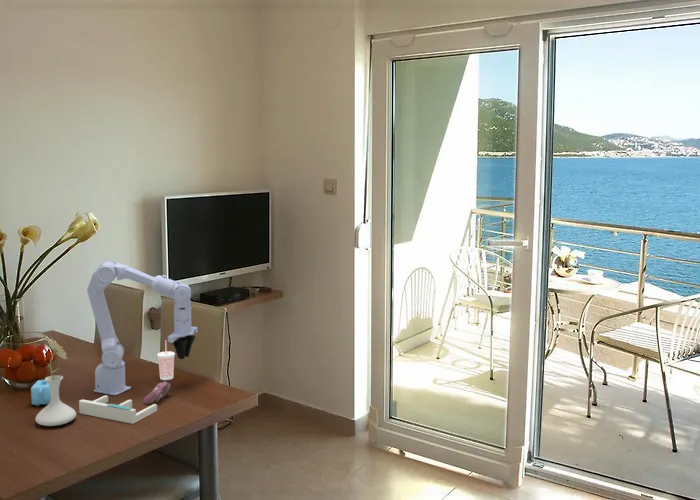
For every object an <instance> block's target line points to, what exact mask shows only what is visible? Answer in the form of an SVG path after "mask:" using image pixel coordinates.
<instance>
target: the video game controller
mask: <svg viewBox="0 0 700 500" xmlns="http://www.w3.org/2000/svg"><path fill="white" fill-rule="evenodd" d="M171 385H172V383H171V384H170V383H169V382H166V380H163V381H162V382H159V383H157V385H156V386H155V387H154V388H153V389H152V391H150V393H149V394H148V395H146V396H145V397H144V398H143V404H145V405H149V404H151V403H154V402H156V403H158V402H159V401H160V399H164V397H165V395H166V394H167V392H168V391H169V390H170V388H171Z"/></svg>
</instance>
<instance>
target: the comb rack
mask: <svg viewBox="0 0 700 500" xmlns="http://www.w3.org/2000/svg"><path fill="white" fill-rule="evenodd" d="M78 406H79V408H78V410H79V412H78V413H79V414H80V415H87V416H91V417H96V418H101V419H106V420H107V419H108V420H110V421H111V420H112V421H117V422H121V423H125V424H126V423H127V424H132V425H133V424H135V423H137V422H139V421H141V420H142V419H144V418H146V417H148V416H150V415H152V414H154V413H156V412H157V411H158V404H156V403H153V404H151V405H150V406H148V407H146V408H144V409H142V410H140V411H137V409H136V408H133V399H127V400H125V401H123V402H121V403H119V404H116V403H115V404H114V403H109V395H108V394H105V395H103V396H101V397H99V398H97V399H94V400H87V399H80V400H78Z"/></svg>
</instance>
